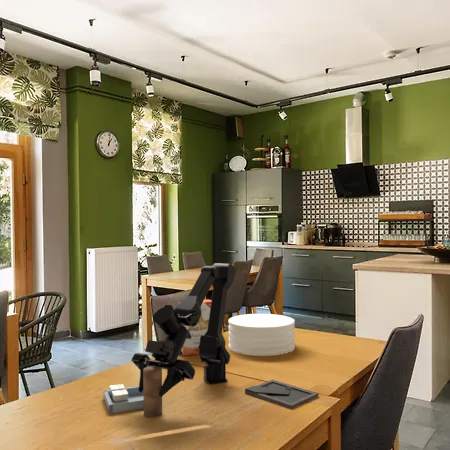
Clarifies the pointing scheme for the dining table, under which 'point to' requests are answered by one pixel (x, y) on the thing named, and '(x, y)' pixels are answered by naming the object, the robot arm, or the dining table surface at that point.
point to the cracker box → (197, 330)
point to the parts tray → (133, 401)
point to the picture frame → (281, 393)
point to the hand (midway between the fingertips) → (149, 393)
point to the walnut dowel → (152, 391)
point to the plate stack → (261, 334)
